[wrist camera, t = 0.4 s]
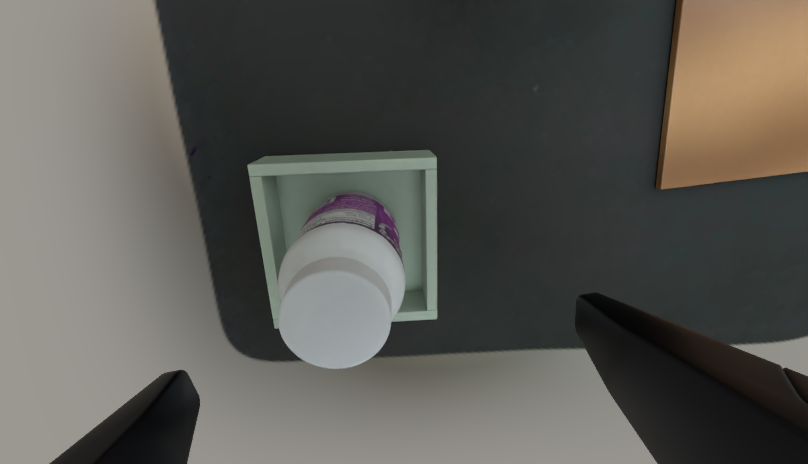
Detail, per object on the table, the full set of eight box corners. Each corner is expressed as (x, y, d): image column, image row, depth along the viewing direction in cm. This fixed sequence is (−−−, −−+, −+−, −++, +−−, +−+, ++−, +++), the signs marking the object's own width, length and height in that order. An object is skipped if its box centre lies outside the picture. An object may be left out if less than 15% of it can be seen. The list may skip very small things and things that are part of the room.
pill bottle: (401, 271, 23) (414, 381, 14) (314, 278, 23) (271, 393, 14) (395, 184, 22) (406, 247, 12) (301, 191, 21) (242, 260, 12)
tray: (431, 294, 24) (437, 319, 22) (286, 302, 24) (274, 329, 21) (429, 149, 21) (437, 157, 19) (263, 156, 21) (246, 164, 18)
